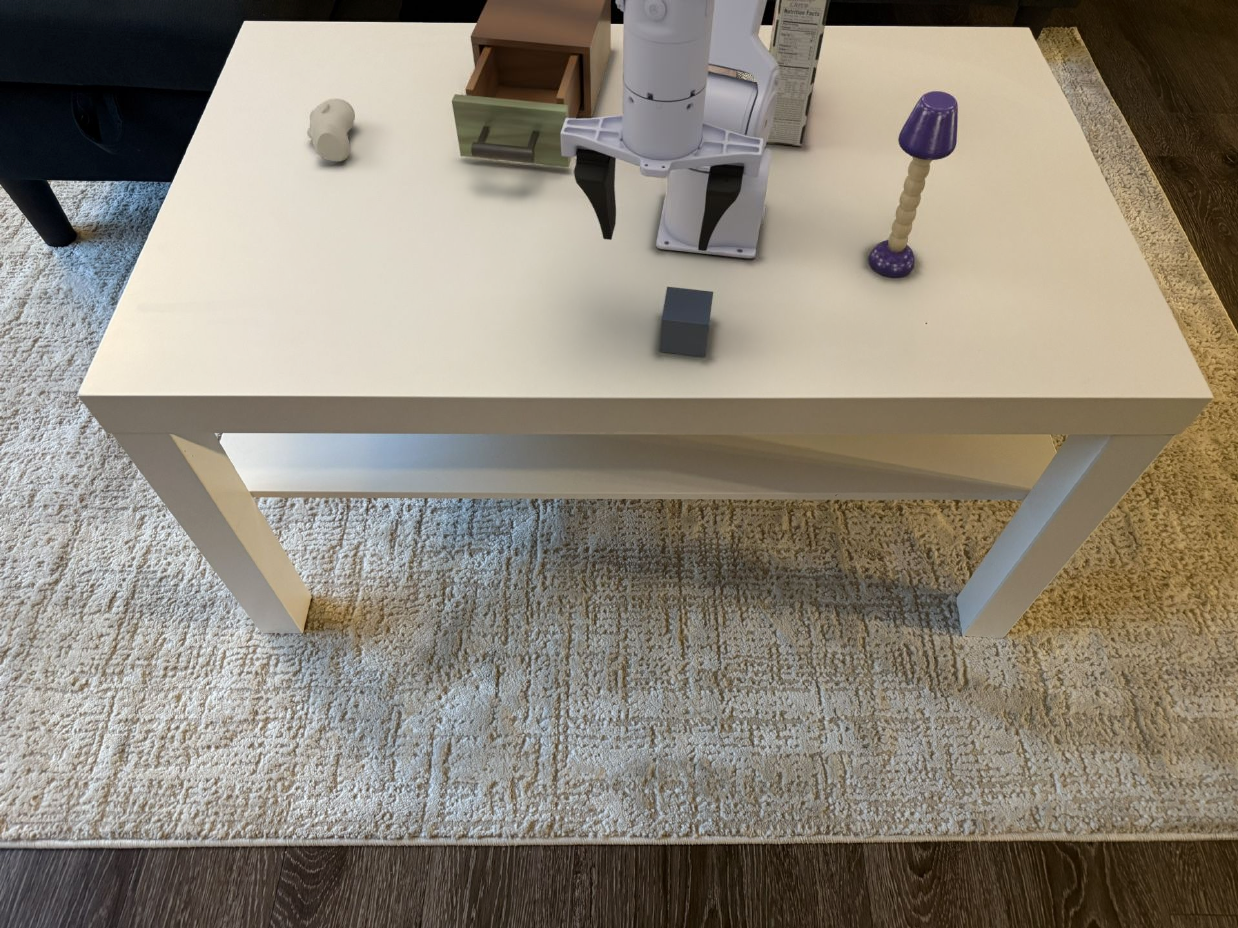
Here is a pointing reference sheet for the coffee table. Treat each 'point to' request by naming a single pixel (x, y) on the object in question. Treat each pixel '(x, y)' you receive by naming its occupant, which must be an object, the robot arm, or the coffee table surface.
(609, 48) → the cabinet
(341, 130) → the pale two-lobed sculpture
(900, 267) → the toy lamp
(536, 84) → the drawer
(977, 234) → the coffee table surface
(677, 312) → the block
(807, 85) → the candy bar box
